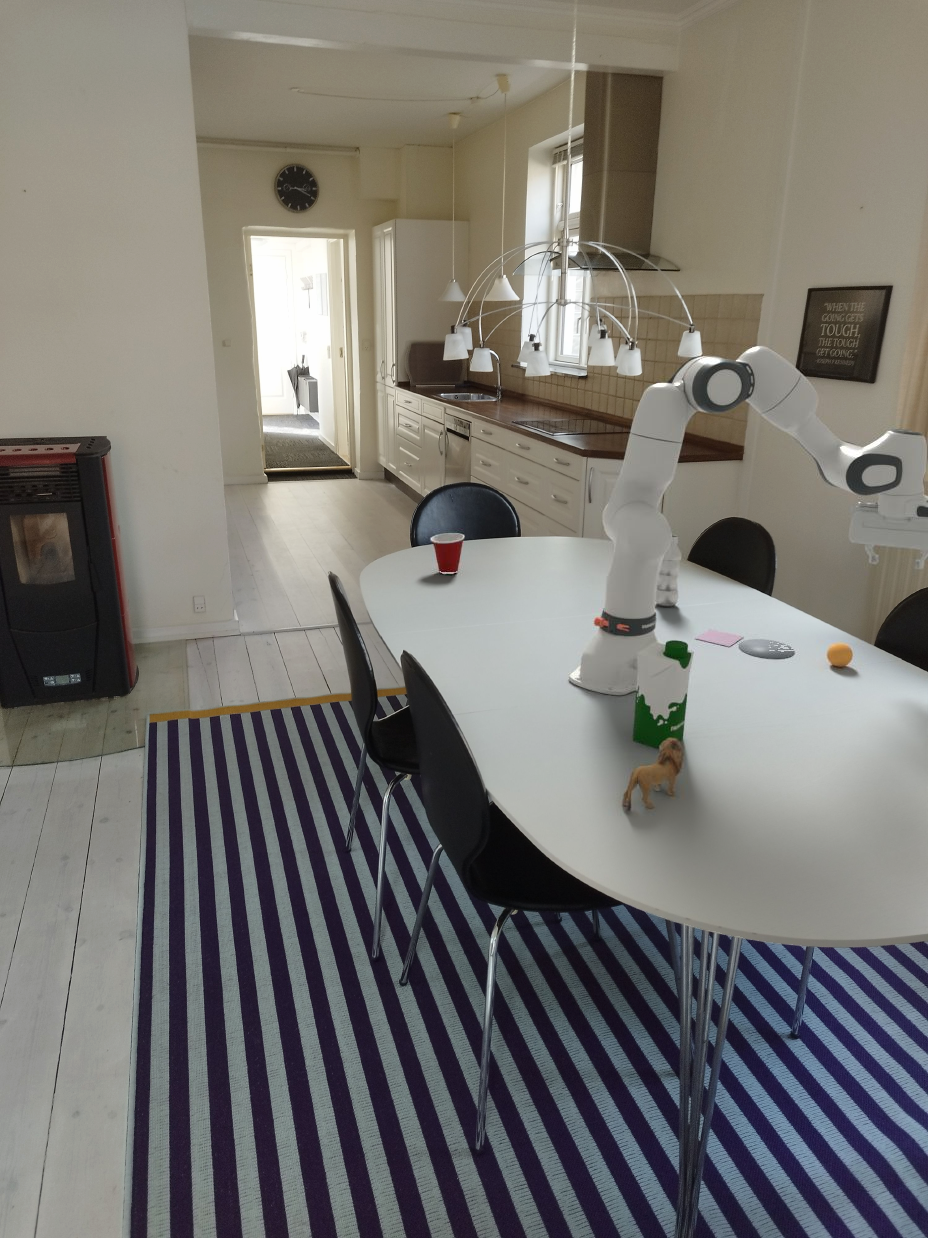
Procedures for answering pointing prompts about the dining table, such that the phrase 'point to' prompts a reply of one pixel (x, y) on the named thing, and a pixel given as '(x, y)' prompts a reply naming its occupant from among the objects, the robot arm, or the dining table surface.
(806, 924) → the dining table surface
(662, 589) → the plastic bottle
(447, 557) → the plastic cup
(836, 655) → the ball
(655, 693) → the milk carton
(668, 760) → the lion figurine
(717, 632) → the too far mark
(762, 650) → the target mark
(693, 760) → the dining table surface
